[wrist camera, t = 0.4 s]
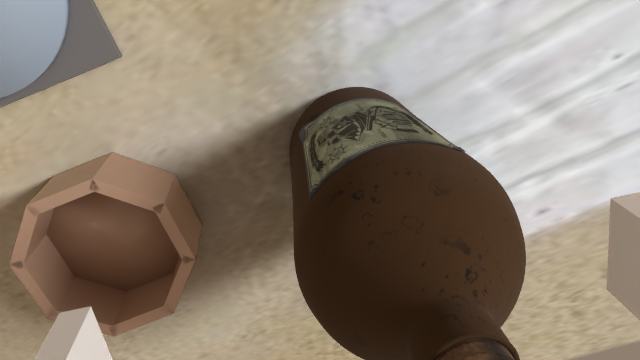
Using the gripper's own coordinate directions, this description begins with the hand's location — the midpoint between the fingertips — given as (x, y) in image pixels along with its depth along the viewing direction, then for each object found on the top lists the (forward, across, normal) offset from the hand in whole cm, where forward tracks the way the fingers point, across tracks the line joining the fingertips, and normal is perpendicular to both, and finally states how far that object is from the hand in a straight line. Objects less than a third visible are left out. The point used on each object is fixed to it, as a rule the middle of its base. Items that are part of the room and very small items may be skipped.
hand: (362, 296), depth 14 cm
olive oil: (+26, +3, -6) cm, 27 cm away
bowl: (+26, -14, -8) cm, 31 cm away
